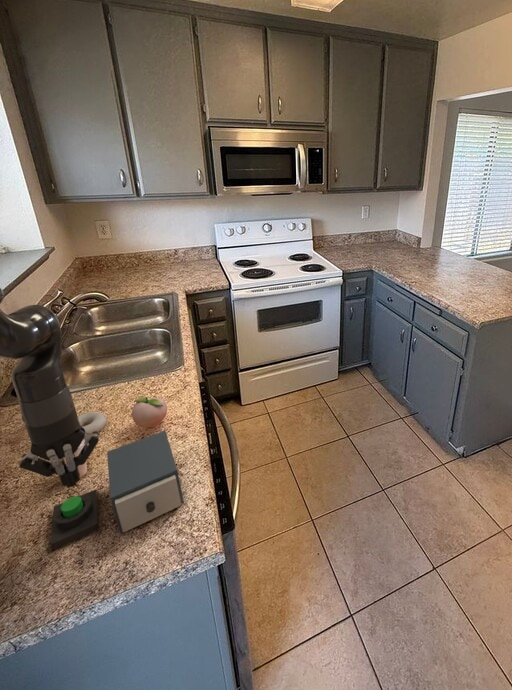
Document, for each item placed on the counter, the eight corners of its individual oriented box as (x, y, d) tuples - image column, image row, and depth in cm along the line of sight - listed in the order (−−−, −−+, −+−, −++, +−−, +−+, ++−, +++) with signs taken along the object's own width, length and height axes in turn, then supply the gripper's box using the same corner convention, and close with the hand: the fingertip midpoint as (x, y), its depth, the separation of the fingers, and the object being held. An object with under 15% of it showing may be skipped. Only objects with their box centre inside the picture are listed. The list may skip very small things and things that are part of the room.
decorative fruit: (128, 436, 100) (121, 406, 97) (144, 416, 108) (137, 388, 105) (161, 437, 100) (154, 407, 96) (174, 417, 108) (168, 389, 104)
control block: (99, 529, 74) (95, 517, 73) (52, 550, 70) (47, 538, 69) (98, 494, 82) (94, 483, 81) (55, 512, 78) (51, 500, 77)
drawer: (182, 509, 77) (177, 482, 75) (123, 537, 72) (115, 509, 69) (170, 464, 89) (164, 439, 87) (118, 486, 84) (111, 459, 81)
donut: (72, 448, 97) (112, 428, 103) (68, 438, 95) (109, 419, 102) (63, 431, 103) (101, 413, 110) (59, 421, 102) (98, 404, 109)
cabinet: (183, 502, 80) (177, 469, 77) (120, 532, 74) (110, 498, 71) (171, 460, 92) (165, 430, 88) (115, 483, 85) (107, 451, 82)
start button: (83, 511, 75) (81, 505, 74) (62, 520, 73) (60, 514, 73) (83, 499, 78) (81, 493, 77) (63, 507, 76) (61, 501, 75)
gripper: (91, 390, 72) (109, 457, 78) (7, 413, 66) (33, 485, 71) (91, 410, 66) (110, 482, 72) (-2, 437, 60) (28, 514, 65)
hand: (72, 483), depth 71 cm, fingers closed
